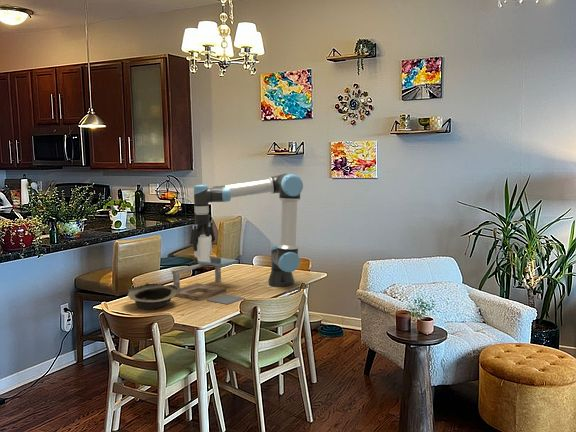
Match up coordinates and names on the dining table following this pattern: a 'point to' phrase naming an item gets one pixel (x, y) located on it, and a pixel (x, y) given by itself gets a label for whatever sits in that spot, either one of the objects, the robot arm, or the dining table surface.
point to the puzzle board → (197, 285)
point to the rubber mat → (225, 299)
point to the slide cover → (219, 261)
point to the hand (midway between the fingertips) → (203, 255)
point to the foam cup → (204, 247)
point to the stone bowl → (152, 295)
